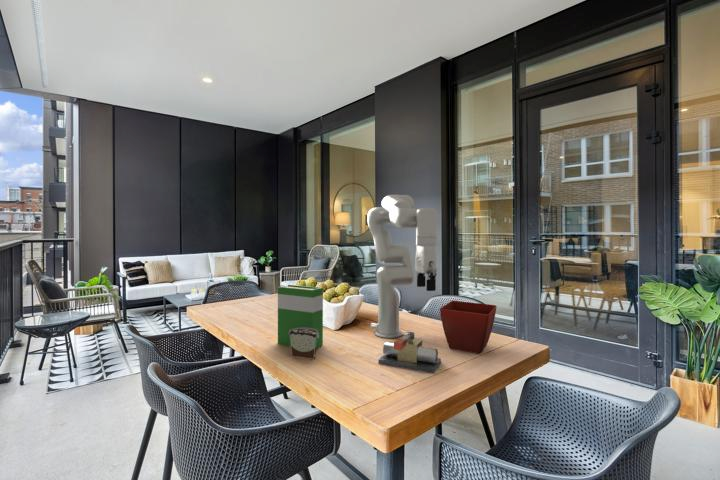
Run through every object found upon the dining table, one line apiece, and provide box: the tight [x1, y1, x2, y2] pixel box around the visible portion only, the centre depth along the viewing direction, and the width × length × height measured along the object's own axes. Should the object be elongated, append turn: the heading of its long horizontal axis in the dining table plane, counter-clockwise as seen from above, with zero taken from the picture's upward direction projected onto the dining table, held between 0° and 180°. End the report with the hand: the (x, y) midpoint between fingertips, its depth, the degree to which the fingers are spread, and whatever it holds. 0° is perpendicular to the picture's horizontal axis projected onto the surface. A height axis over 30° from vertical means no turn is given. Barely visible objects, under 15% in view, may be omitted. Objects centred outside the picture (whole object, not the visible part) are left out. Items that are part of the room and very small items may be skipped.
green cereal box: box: [277, 284, 324, 349], centre depth 151 cm, size 18×7×24 cm, turn 63°
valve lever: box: [394, 331, 415, 350], centre depth 124 cm, size 15×3×2 cm, turn 154°
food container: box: [288, 327, 319, 360], centre depth 137 cm, size 12×6×10 cm, turn 71°
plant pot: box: [439, 300, 497, 354], centre depth 148 cm, size 19×19×17 cm
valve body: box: [378, 338, 442, 374], centre depth 130 cm, size 20×11×9 cm, turn 64°
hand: (425, 288), depth 132 cm, fingers open, 9 cm apart
